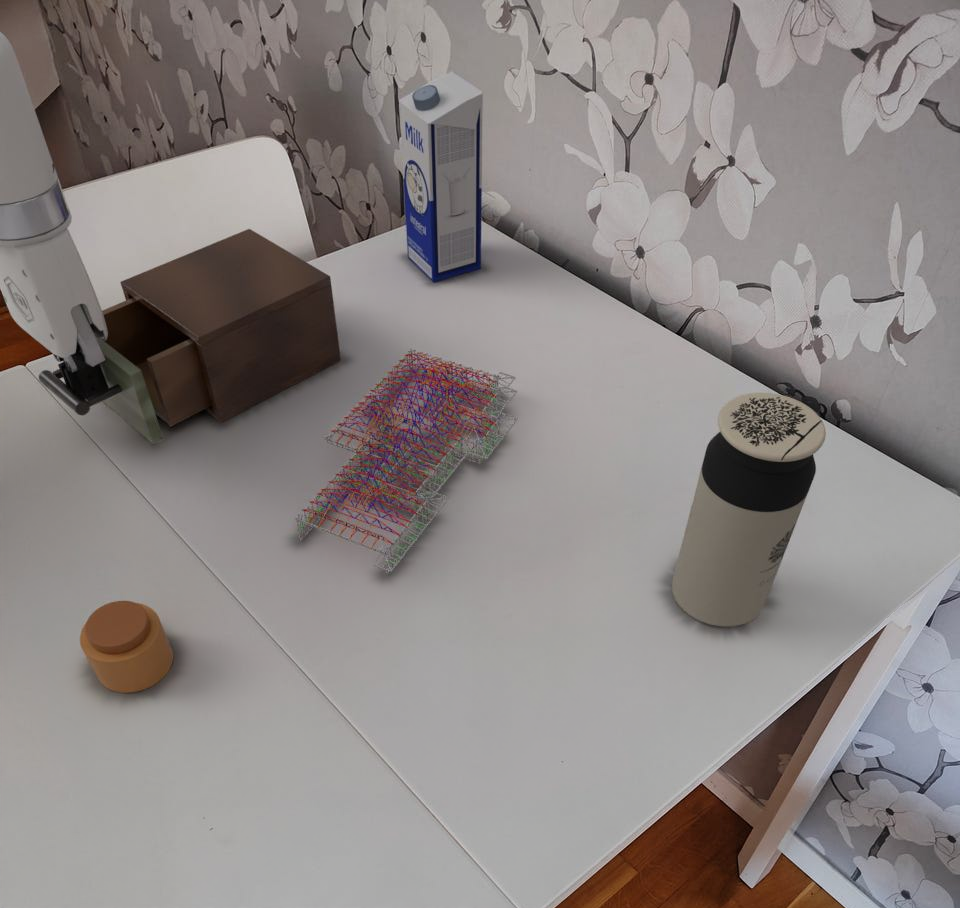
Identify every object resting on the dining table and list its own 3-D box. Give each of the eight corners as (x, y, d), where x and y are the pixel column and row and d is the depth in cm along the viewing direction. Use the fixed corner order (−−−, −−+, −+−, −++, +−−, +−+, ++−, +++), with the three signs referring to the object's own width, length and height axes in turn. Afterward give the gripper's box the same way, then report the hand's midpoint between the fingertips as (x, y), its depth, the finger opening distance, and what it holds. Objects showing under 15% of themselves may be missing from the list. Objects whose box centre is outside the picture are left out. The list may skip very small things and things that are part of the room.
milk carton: (481, 269, 111) (483, 90, 96) (433, 283, 109) (427, 103, 93) (453, 244, 115) (451, 68, 99) (407, 257, 113) (397, 79, 97)
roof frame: (399, 592, 77) (395, 550, 73) (254, 535, 81) (243, 492, 77) (542, 403, 94) (546, 360, 90) (416, 364, 98) (414, 321, 94)
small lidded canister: (80, 669, 72) (58, 629, 68) (138, 623, 75) (120, 582, 71) (131, 705, 69) (111, 666, 66) (189, 655, 73) (173, 615, 69)
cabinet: (220, 423, 92) (198, 337, 84) (146, 366, 98) (119, 281, 90) (341, 360, 99) (330, 276, 91) (265, 311, 105) (249, 228, 97)
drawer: (108, 467, 86) (81, 398, 79) (43, 409, 91) (12, 340, 85) (274, 382, 94) (260, 314, 88) (205, 334, 100) (188, 266, 94)
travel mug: (651, 589, 78) (692, 418, 64) (712, 547, 81) (763, 376, 67) (722, 644, 74) (782, 475, 60) (783, 598, 77) (853, 428, 63)
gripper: (-69, 191, 74) (18, 380, 89) (19, 256, 68) (97, 449, 82) (16, 163, 78) (86, 349, 92) (107, 223, 71) (168, 414, 86)
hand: (91, 396), depth 87 cm, fingers closed
